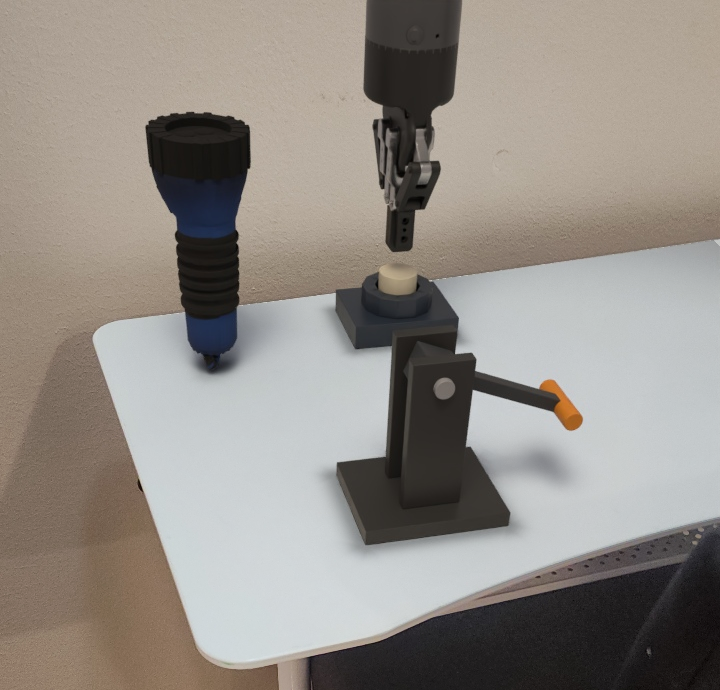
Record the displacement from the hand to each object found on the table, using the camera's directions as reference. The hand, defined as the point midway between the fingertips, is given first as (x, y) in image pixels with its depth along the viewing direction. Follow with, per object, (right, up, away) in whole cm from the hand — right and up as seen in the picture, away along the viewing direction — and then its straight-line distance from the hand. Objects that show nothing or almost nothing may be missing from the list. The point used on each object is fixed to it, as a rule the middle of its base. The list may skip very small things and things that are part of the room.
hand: (398, 248), depth 91 cm
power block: (0, -5, +5) cm, 8 cm away
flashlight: (-17, -11, -1) cm, 20 cm away
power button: (0, -3, +3) cm, 4 cm away
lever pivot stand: (+1, -25, -15) cm, 30 cm away
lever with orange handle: (+6, -19, -20) cm, 28 cm away
